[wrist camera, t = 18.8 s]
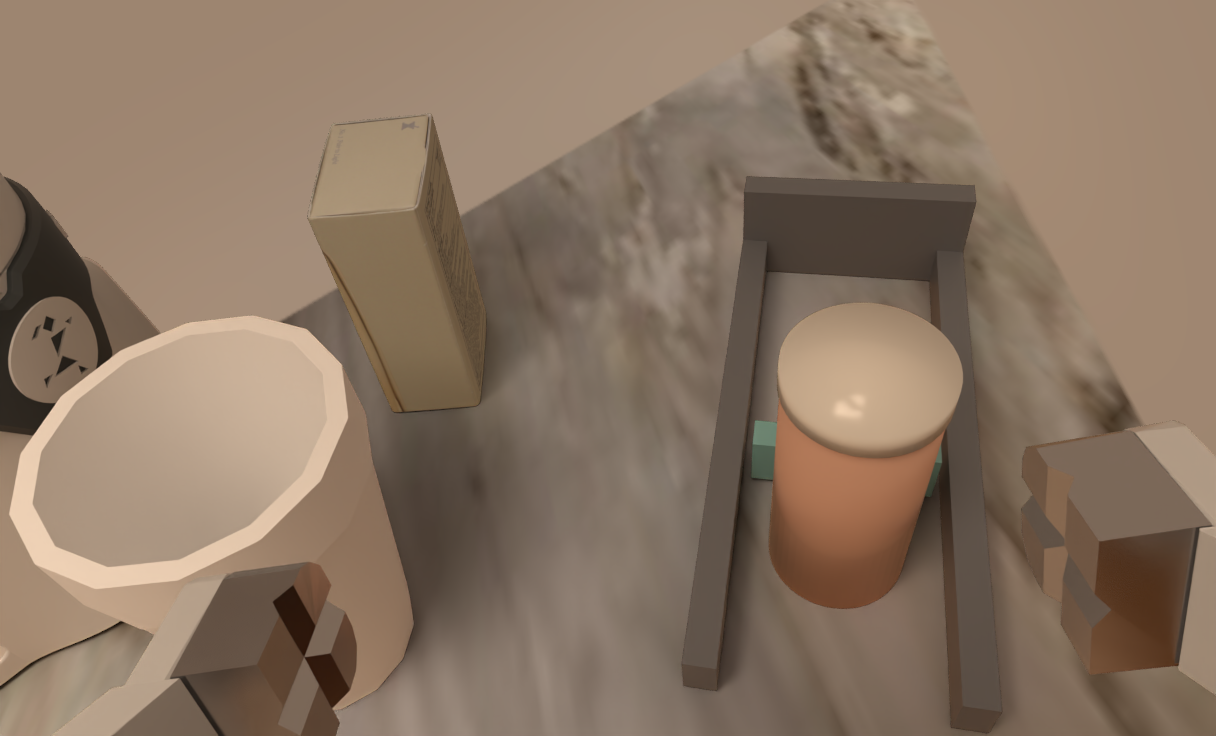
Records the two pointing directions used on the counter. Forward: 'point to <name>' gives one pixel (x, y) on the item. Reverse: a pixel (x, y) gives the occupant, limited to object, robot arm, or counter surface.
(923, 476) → the terracotta jar
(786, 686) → the counter surface
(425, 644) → the counter surface
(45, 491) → the foam cup
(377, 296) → the skincare box
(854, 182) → the pusher lane
